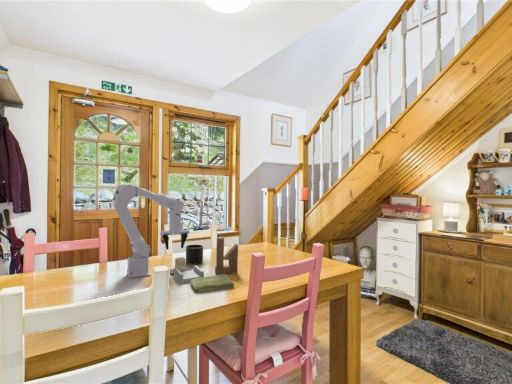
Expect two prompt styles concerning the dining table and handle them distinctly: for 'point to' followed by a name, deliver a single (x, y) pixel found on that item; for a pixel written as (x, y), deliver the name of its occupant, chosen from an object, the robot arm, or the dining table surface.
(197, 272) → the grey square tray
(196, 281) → the washcloth
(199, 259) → the mug
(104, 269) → the dining table surface
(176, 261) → the block
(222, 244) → the brown angular piece
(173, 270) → the pad
